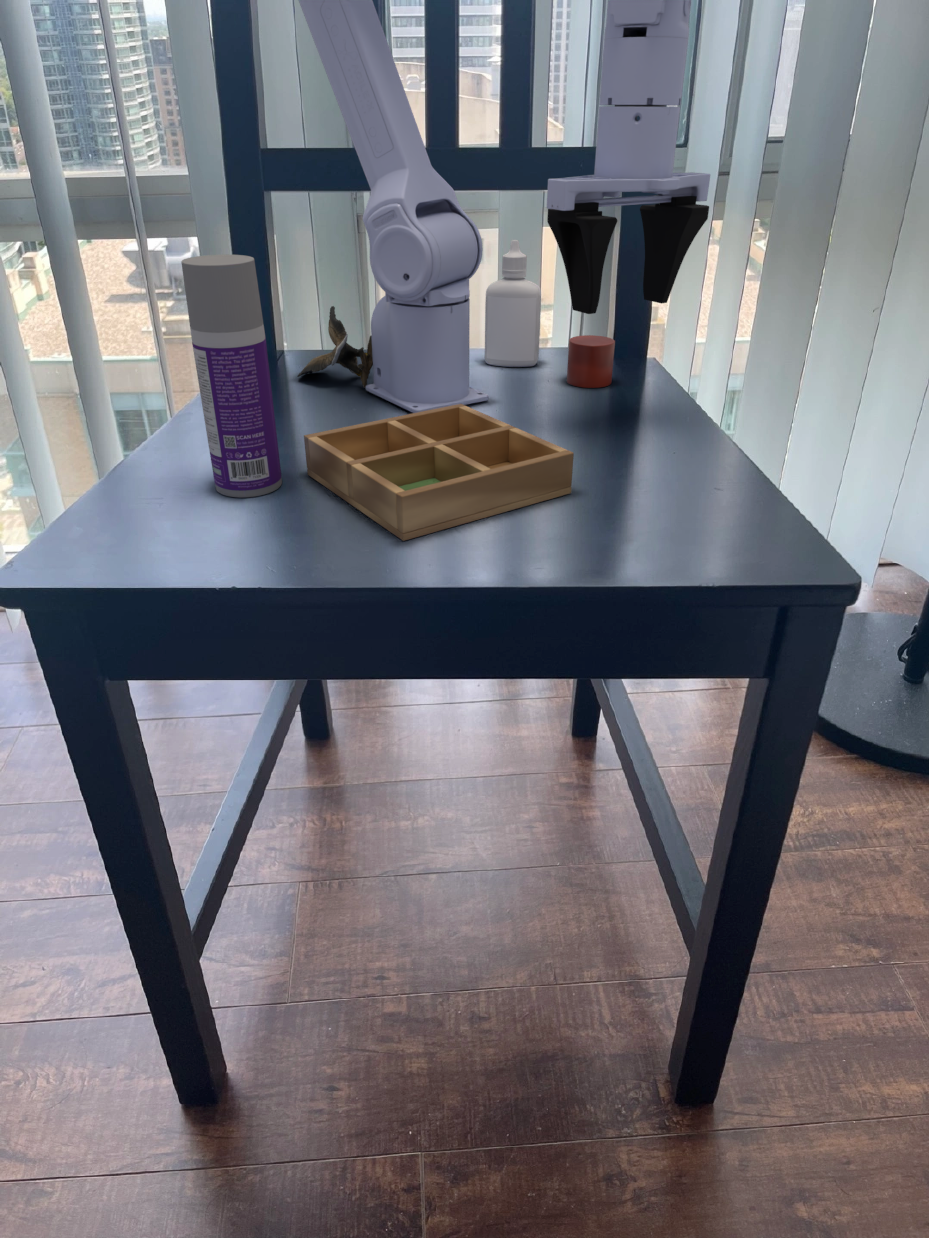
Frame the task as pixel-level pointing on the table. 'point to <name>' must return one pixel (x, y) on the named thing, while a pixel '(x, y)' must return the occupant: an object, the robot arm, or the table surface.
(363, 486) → the grid
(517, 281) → the eye dropper bottle
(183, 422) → the table surface
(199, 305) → the container
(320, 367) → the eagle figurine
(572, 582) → the table surface
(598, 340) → the red cylinder
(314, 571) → the table surface
